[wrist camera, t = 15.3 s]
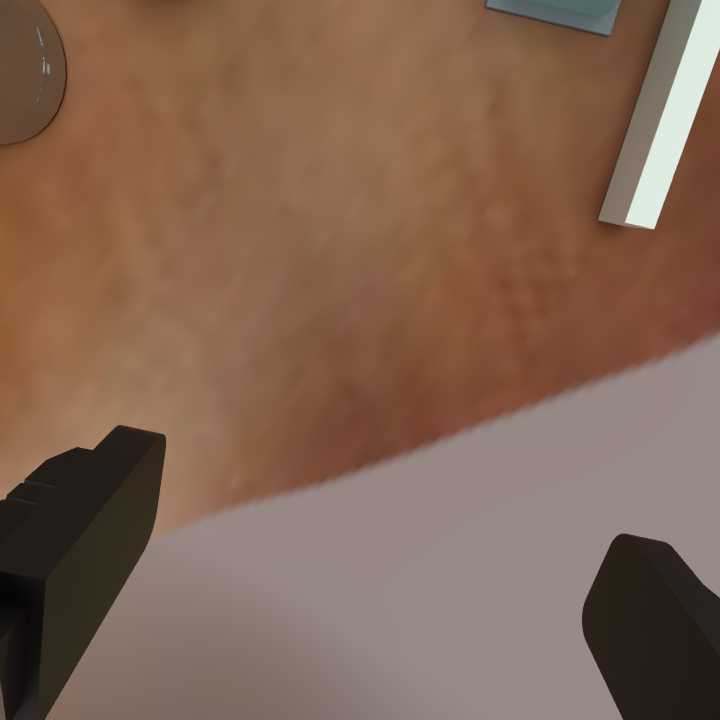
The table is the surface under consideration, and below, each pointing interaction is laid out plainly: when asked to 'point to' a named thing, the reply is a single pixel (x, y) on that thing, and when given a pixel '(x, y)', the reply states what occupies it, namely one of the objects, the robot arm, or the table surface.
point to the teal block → (583, 5)
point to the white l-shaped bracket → (649, 100)
